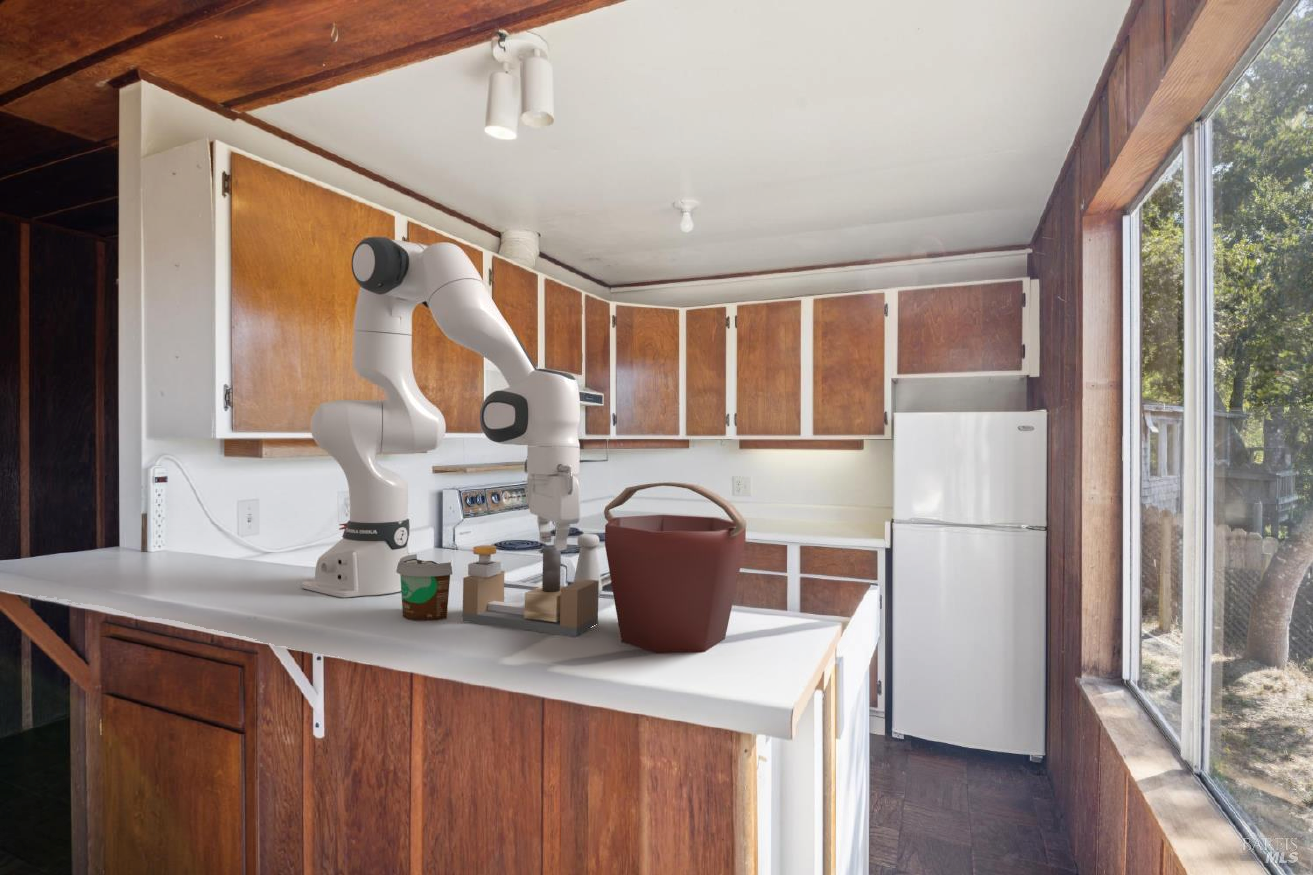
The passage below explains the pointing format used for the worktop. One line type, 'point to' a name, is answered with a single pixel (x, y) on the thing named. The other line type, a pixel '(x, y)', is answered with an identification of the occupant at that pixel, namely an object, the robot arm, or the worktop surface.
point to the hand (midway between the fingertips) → (552, 545)
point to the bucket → (674, 574)
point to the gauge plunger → (484, 553)
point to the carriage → (546, 590)
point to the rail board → (490, 609)
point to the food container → (424, 588)
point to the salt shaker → (588, 559)
